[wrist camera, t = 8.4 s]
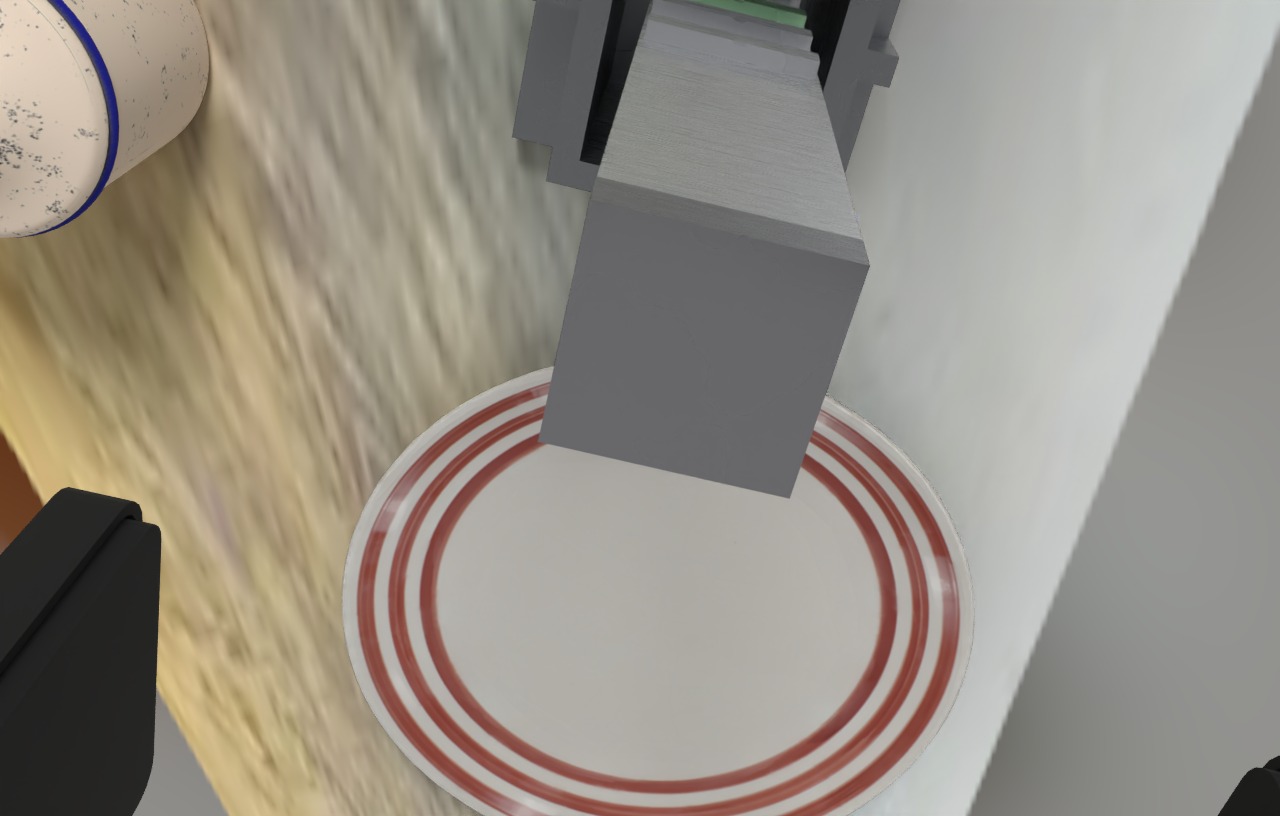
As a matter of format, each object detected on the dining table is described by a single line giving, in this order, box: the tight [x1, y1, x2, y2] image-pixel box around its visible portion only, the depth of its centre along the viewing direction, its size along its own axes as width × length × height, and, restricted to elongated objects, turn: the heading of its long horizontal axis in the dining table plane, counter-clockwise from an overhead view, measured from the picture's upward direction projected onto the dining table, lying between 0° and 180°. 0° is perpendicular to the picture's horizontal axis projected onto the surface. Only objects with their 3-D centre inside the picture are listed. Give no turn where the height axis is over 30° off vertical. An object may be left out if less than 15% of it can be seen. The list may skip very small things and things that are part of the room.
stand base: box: [512, 0, 900, 192], centre depth 37 cm, size 12×12×11 cm
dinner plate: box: [342, 366, 975, 816], centre depth 54 cm, size 27×27×3 cm
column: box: [538, 0, 870, 499], centre depth 27 cm, size 5×4×21 cm
